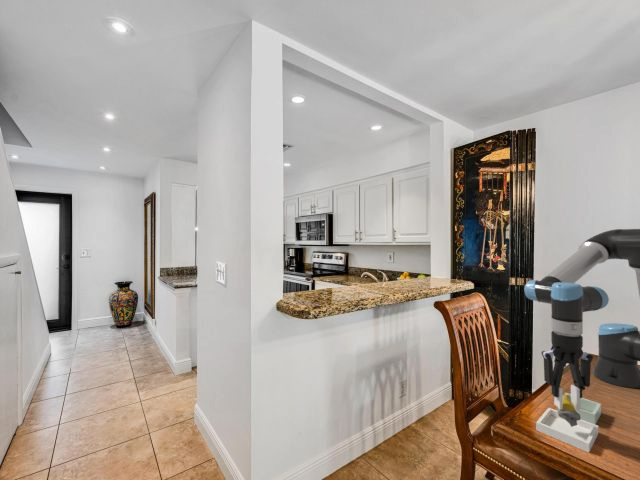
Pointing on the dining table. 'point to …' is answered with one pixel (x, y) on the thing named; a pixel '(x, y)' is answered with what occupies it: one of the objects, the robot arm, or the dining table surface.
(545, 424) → the tray
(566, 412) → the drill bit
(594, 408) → the pale green square frame
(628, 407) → the dining table surface
